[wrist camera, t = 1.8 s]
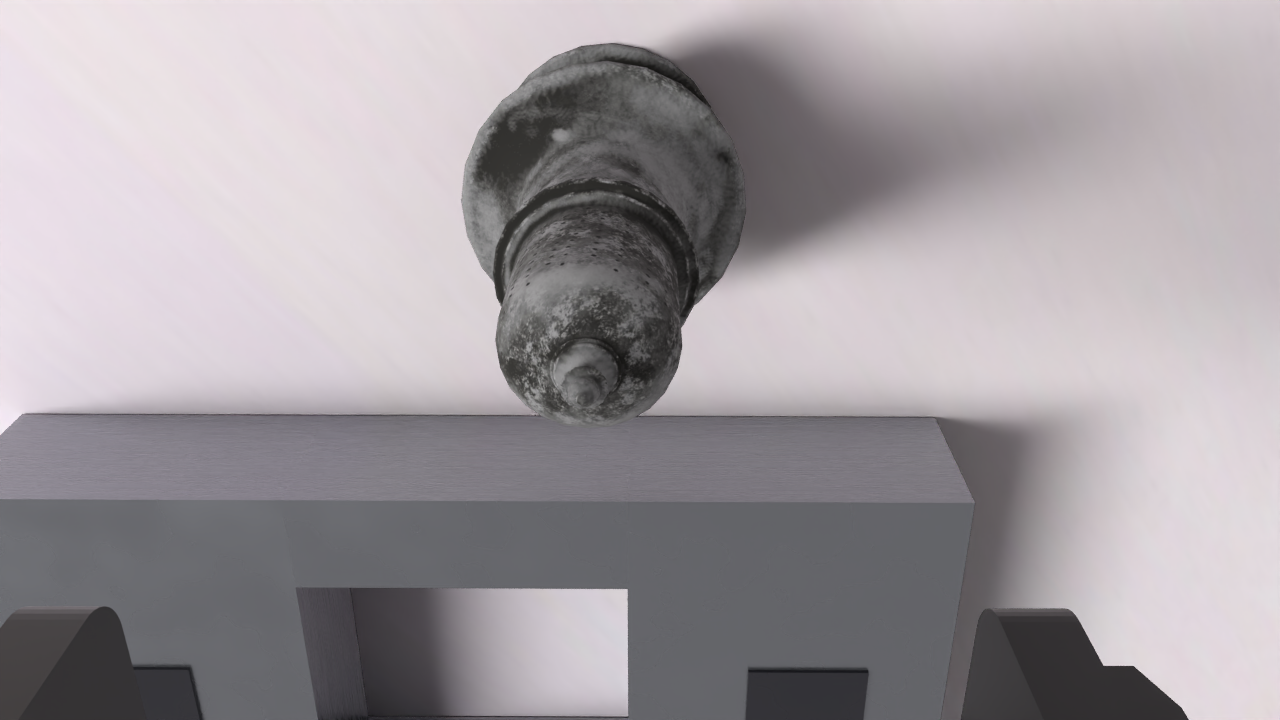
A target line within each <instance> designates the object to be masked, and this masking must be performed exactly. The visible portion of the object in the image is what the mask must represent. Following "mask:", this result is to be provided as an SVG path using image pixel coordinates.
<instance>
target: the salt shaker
mask: <svg viewBox="0 0 1280 720" xmlns="http://www.w3.org/2000/svg"><path fill="white" fill-rule="evenodd" d="M461 202H462V208H463V214H464V219H465V225H466V231H467V236H468V238H469V241H470V243H471V245H472V247H473V249H474V251H475V254H476V256H477V258H478V260H479V262H480V264H481V267H482V268H483V270H484V271H485V272H486V273H487V274H488V276H489V277H490V278H491V279H492V281H493V282H494V284H495V290H496V296H497V299H498V301H499V303H500V305H501V311H500V314H499V318H498V324H497V332H496V346H497V352H498V358H499V363H500V368H501V370H502V372H503V374H504V377H505V379H506V381H507V383H508V385H509V387H510V388H511V389H512V391H513V392H514V393H515V394H516V395H517V396H518V397H519V399H520V400H521V401H522V402H523V403H524V404H525V405H526V406H528V407H529V408H531V409H532V410H534V411H535V412H537V413H538V414H539V415H541V416H542V417H545V418H547V419H550V420H553V421H555V422H558V423H560V424H563V425H568V426H575V427H582V428H596V427H609V426H613V425H616V424H619V423H622V422H625V421H629V420H631V419H633V418H635V417H636V416H638V415H640V414H641V413H643V412H645V411H646V410H648V409H650V408H651V407H652V406H653V405H654V403H655V402H656V401H657V400H658V399H659V398H660V397H661V396H662V395H663V394H664V393H665V391H666V389H667V388H668V386H669V384H670V382H671V380H672V378H673V377H674V375H675V373H676V370H677V368H678V364H679V360H680V355H681V350H682V337H681V327H682V326H683V325H684V323H685V321H686V319H687V317H688V315H689V314H690V312H691V310H692V308H693V306H694V305H695V304H697V303H698V302H699V301H700V300H701V299H702V298H703V297H704V296H705V295H706V294H707V293H708V292H709V290H710V289H711V288H712V287H713V286H714V285H715V284H716V283H717V282H718V281H719V280H720V279H721V278H722V276H723V274H724V272H725V270H726V268H727V267H728V265H729V263H730V261H731V259H732V257H733V255H734V253H735V251H736V250H737V248H738V245H739V241H740V236H741V232H742V227H743V223H744V218H745V214H746V204H745V185H744V174H743V171H742V168H741V165H740V162H739V159H738V156H737V154H736V151H735V148H734V145H733V142H732V139H731V138H730V136H729V135H728V133H727V132H726V131H725V129H724V128H723V126H722V125H721V123H720V122H719V120H718V119H717V117H716V116H715V114H714V113H713V111H712V110H711V107H710V105H709V104H708V102H707V101H706V99H705V98H704V96H703V95H702V93H701V92H700V91H699V89H698V88H697V86H696V85H695V83H694V82H693V81H692V80H691V79H690V78H689V77H688V76H686V75H685V74H684V73H683V72H682V71H681V70H679V69H678V68H677V67H676V66H675V65H673V64H672V63H671V62H670V61H668V60H666V59H663V58H661V57H659V56H657V55H655V54H653V53H651V52H649V51H646V50H644V49H642V48H636V47H630V46H625V45H619V44H613V43H610V44H600V45H589V46H581V47H578V48H576V49H573V50H570V51H568V52H565V53H562V54H560V55H557V56H555V57H553V58H551V59H550V60H548V61H547V62H546V63H544V64H543V65H542V66H540V67H539V68H538V69H536V70H535V71H534V72H532V73H531V74H529V76H528V77H527V78H526V79H525V81H524V82H523V83H522V85H521V86H520V87H519V88H518V89H517V90H516V91H515V92H513V93H512V94H510V95H509V96H508V97H506V98H505V99H504V100H502V101H501V103H500V104H499V105H498V107H497V108H496V109H495V110H494V112H493V113H492V114H491V116H490V117H489V118H488V119H487V121H486V122H485V123H484V125H483V126H482V127H481V128H480V130H479V132H478V134H477V137H476V139H475V142H474V144H473V147H472V149H471V152H470V154H469V157H468V159H467V162H466V164H465V170H464V180H463V190H462V199H461Z"/></svg>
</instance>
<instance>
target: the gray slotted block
mask: <svg viewBox="0 0 1280 720" xmlns="http://www.w3.org/2000/svg"><path fill="white" fill-rule="evenodd" d="M974 507H975V501H974V499H973V497H972V495H971V493H970V491H969V489H968V487H967V484H966V482H965V480H964V478H963V476H962V474H961V472H960V470H959V467H958V465H957V463H956V461H955V459H954V457H953V455H952V453H951V451H950V448H949V446H948V444H947V442H946V440H945V438H944V436H943V434H942V431H941V429H940V427H939V425H938V423H937V421H936V419H935V418H911V417H635V418H633V419H631V420H629V421H625V422H622V423H619V424H616V425H613V426H609V427H596V428H582V427H575V426H568V425H563V424H560V423H558V422H555V421H553V420H550V419H547V418H545V417H542V416H341V415H56V414H22V415H21V416H20V417H19V418H18V419H17V420H16V421H15V422H14V423H13V424H12V425H11V426H10V427H9V428H8V429H6V430H5V431H4V432H3V433H2V434H1V435H0V628H1V626H2V625H3V624H4V623H5V621H6V620H7V619H8V618H9V617H10V615H11V614H12V613H14V612H15V611H16V610H18V609H20V608H22V607H26V606H106V607H110V608H111V609H113V610H114V611H115V612H116V614H117V615H118V617H119V619H120V621H121V624H122V628H123V631H124V635H125V639H126V643H127V647H128V650H129V654H130V658H131V662H132V666H133V669H134V673H135V677H136V681H137V685H138V688H139V692H140V696H141V700H142V704H143V707H144V711H145V715H146V719H147V720H940V719H941V713H942V707H943V701H944V695H945V688H946V682H947V676H948V670H949V663H950V657H951V651H952V645H953V638H954V632H955V626H956V620H957V613H958V607H959V601H960V595H961V588H962V582H963V576H964V570H965V563H966V557H967V551H968V545H969V539H970V532H971V526H972V520H973V514H974ZM350 588H540V589H628V718H577V717H371V716H368V709H367V702H366V695H365V688H364V681H363V674H362V667H361V660H360V653H359V646H358V639H357V632H356V625H355V618H354V611H353V604H352V597H351V590H350Z"/></svg>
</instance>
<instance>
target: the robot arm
mask: <svg viewBox="0 0 1280 720" xmlns="http://www.w3.org/2000/svg"><path fill="white" fill-rule="evenodd" d="M0 720H147V719H146V715H145V711H144V707H143V704H142V700H141V696H140V692H139V688H138V685H137V681H136V677H135V673H134V669H133V666H132V662H131V658H130V654H129V650H128V647H127V643H126V639H125V635H124V631H123V628H122V624H121V621H120V619H119V617H118V615H117V614H116V612H115V611H114V610H113V609H111V608H110V607H106V606H26V607H22V608H20V609H18V610H16V611H15V612H14V613H12V614H11V615H10V617H9V618H8V619H7V620H6V621H5V623H4V624H3V625H2V626H1V628H0ZM961 720H1189V719H1188V718H1187V716H1186V714H1185V713H1184V711H1183V709H1182V708H1181V707H1180V706H1179V705H1178V704H1176V703H1175V702H1174V701H1173V700H1172V699H1171V698H1170V697H1168V696H1167V695H1166V694H1165V693H1164V692H1163V691H1161V690H1160V689H1159V688H1158V687H1157V686H1156V685H1155V684H1153V683H1152V682H1151V681H1150V680H1149V679H1148V678H1147V677H1145V676H1144V675H1143V674H1142V673H1141V672H1140V671H1138V670H1137V669H1136V668H1135V667H1134V666H1103V664H1102V662H1101V661H1100V659H1099V657H1098V655H1097V653H1096V651H1095V649H1094V648H1093V646H1092V644H1091V642H1090V640H1089V638H1088V636H1087V635H1086V633H1085V631H1084V629H1083V627H1082V625H1081V623H1080V622H1079V620H1078V618H1077V617H1076V615H1075V614H1074V613H1073V612H1072V611H1070V610H1069V609H985V610H984V611H983V612H982V614H981V616H980V618H979V621H978V625H977V630H976V636H975V642H974V647H973V653H972V659H971V665H970V670H969V676H968V682H967V688H966V693H965V699H964V705H963V711H962V716H961Z"/></svg>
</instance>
